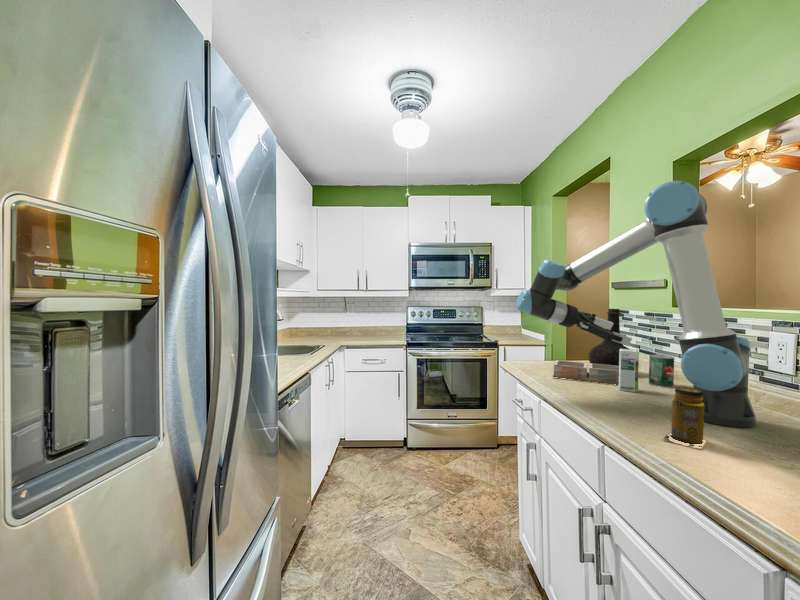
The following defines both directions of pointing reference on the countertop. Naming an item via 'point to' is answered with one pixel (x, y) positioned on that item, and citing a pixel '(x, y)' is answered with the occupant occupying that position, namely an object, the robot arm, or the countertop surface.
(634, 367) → the syrup box
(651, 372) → the canned tomato
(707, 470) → the countertop surface
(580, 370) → the socket board
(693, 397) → the condiment
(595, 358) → the glass bottle
